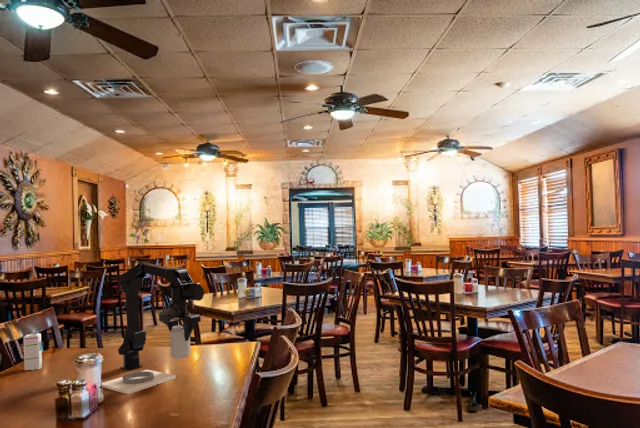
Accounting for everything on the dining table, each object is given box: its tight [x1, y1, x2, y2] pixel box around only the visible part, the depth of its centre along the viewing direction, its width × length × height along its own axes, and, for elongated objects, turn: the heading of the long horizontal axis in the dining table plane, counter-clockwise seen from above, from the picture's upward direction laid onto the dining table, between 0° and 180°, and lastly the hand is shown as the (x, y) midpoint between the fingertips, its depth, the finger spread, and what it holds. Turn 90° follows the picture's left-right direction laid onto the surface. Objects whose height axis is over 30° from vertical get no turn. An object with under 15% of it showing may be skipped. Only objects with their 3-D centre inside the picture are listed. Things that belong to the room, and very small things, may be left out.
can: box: [169, 324, 191, 360], centre depth 187 cm, size 8×8×12 cm
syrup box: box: [23, 332, 43, 371], centre depth 203 cm, size 6×6×14 cm
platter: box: [101, 369, 177, 395], centre depth 177 cm, size 18×20×2 cm
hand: (180, 339), depth 187 cm, fingers closed on can, 7 cm apart
